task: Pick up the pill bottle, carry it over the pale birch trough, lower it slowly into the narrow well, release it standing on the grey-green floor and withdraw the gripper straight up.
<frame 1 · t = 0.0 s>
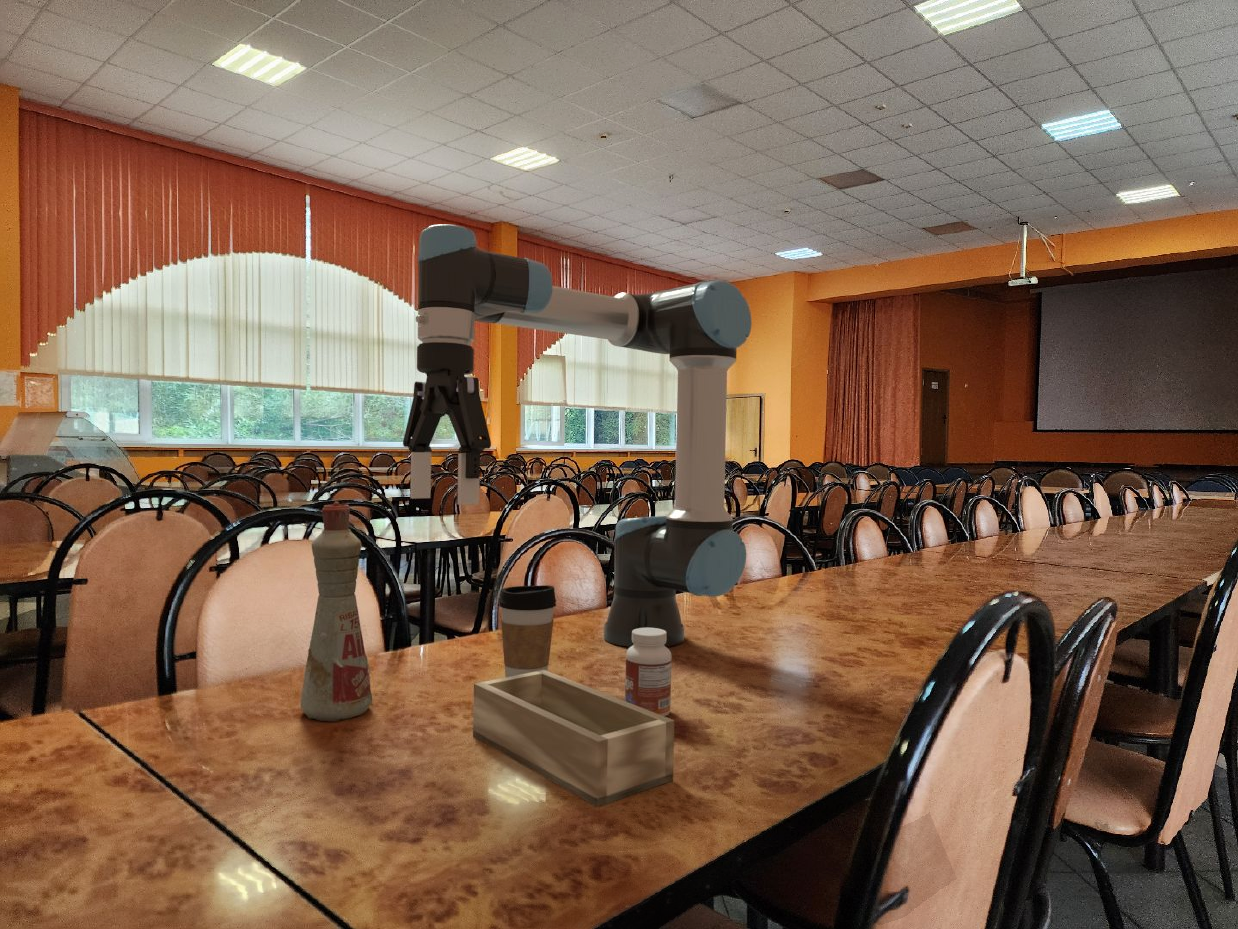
hand: (443, 501, 108), 28 cm above the table, fingers open, 13 cm apart
bottle: (336, 713, 106), on the table
well: (566, 757, 92), on the table
coffee cup: (526, 689, 118), on the table
pill bottle: (647, 714, 108), on the table
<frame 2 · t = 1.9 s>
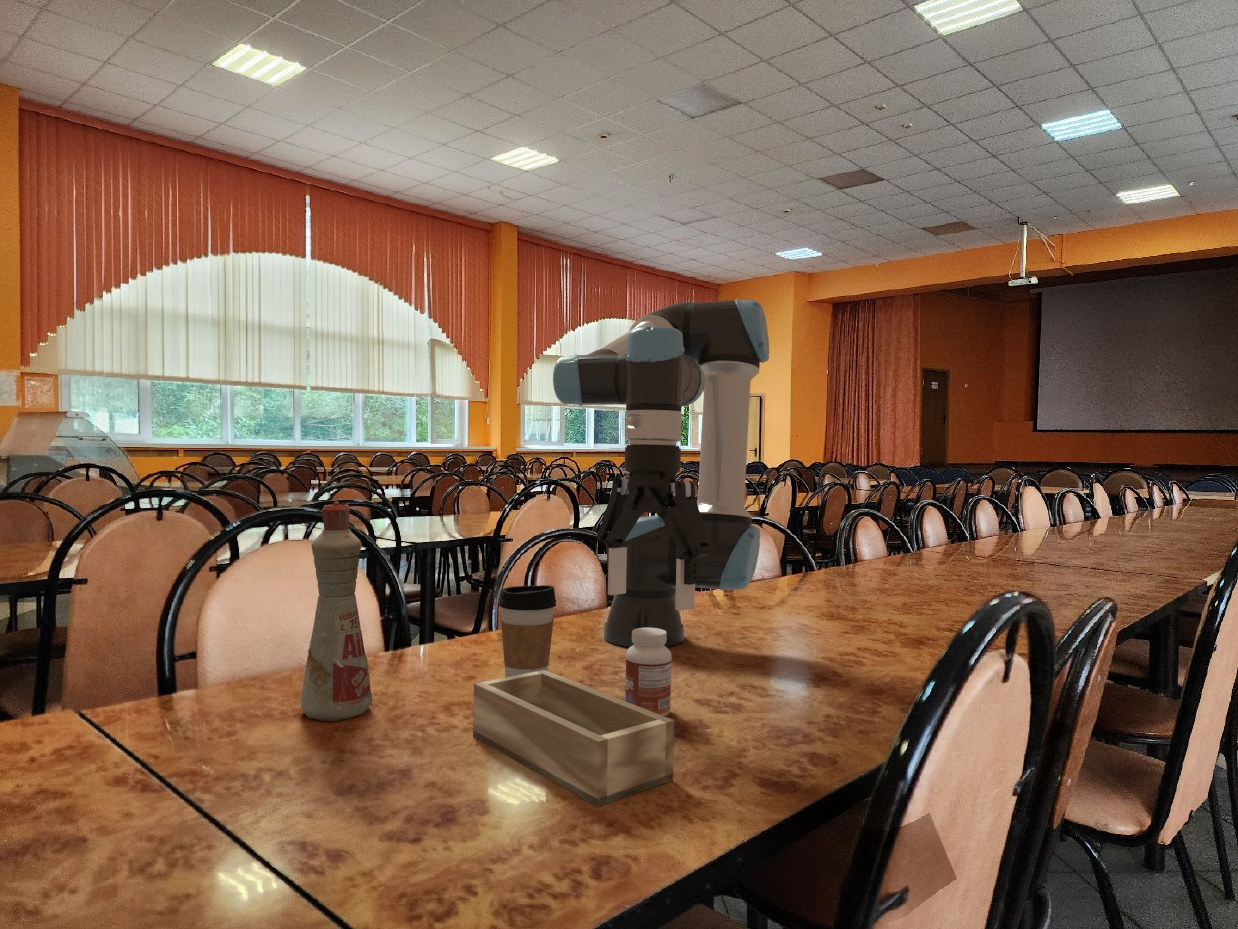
hand: (649, 601, 107), 15 cm above the table, fingers open, 13 cm apart
nothing on the table moved.
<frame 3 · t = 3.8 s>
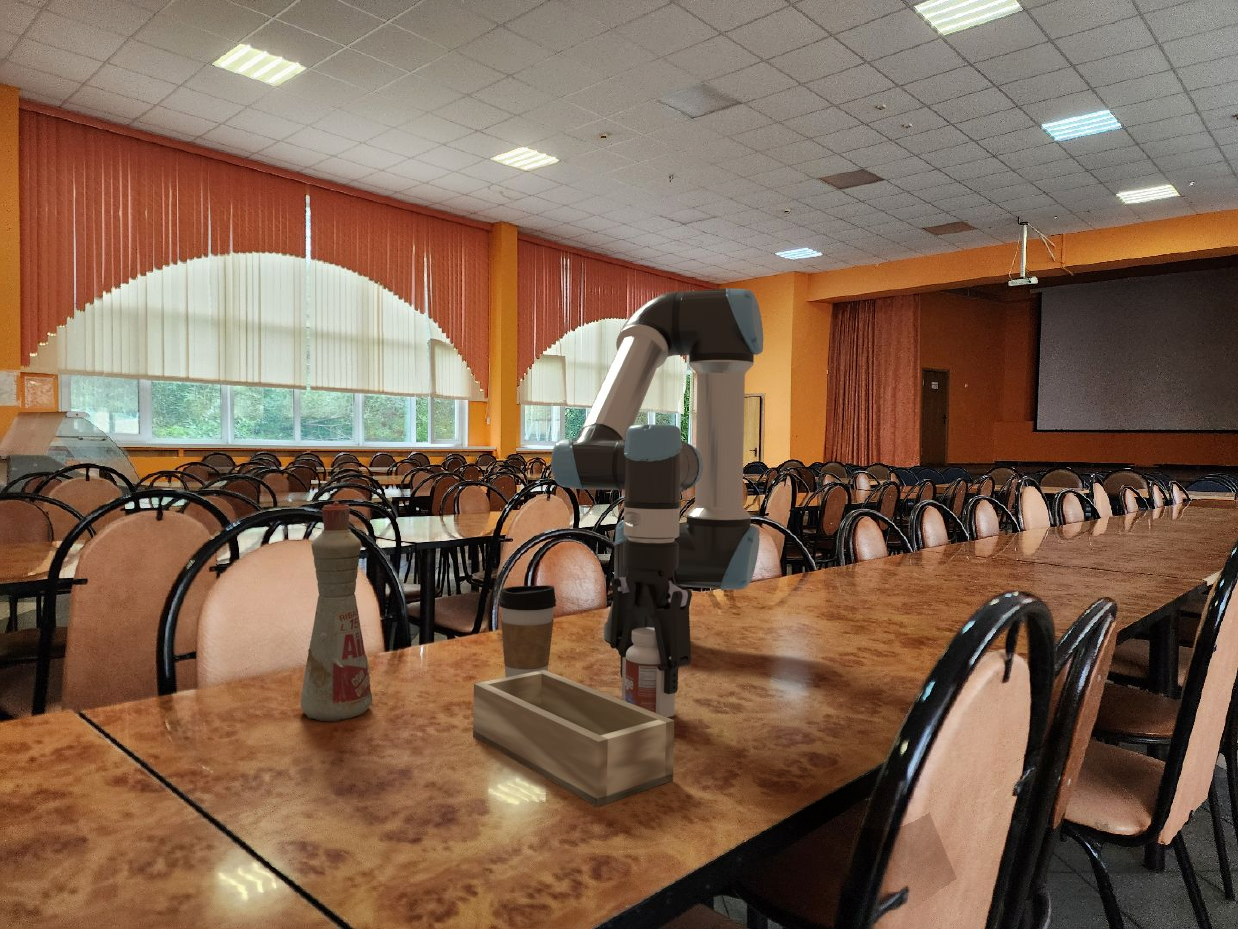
hand: (647, 709, 108), 0 cm above the table, fingers closed on pill bottle, 6 cm apart
pill bottle: (647, 714, 108), on the table, touching gripper
everything else where it was.
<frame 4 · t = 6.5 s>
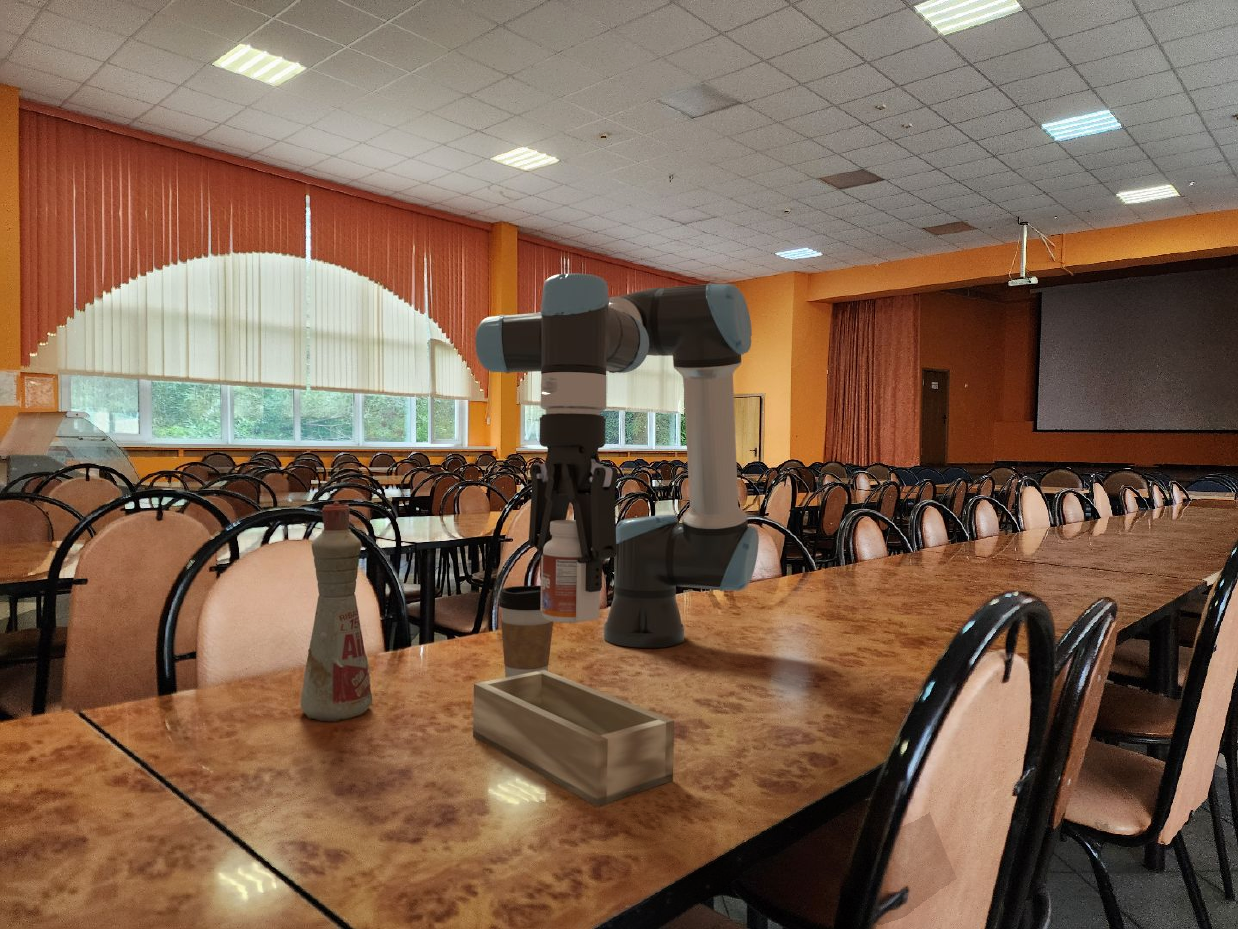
hand: (569, 614, 91), 16 cm above the table, fingers closed on pill bottle, 6 cm apart
pill bottle: (568, 620, 91), point 16 cm above the table, touching gripper
everything else where it was.
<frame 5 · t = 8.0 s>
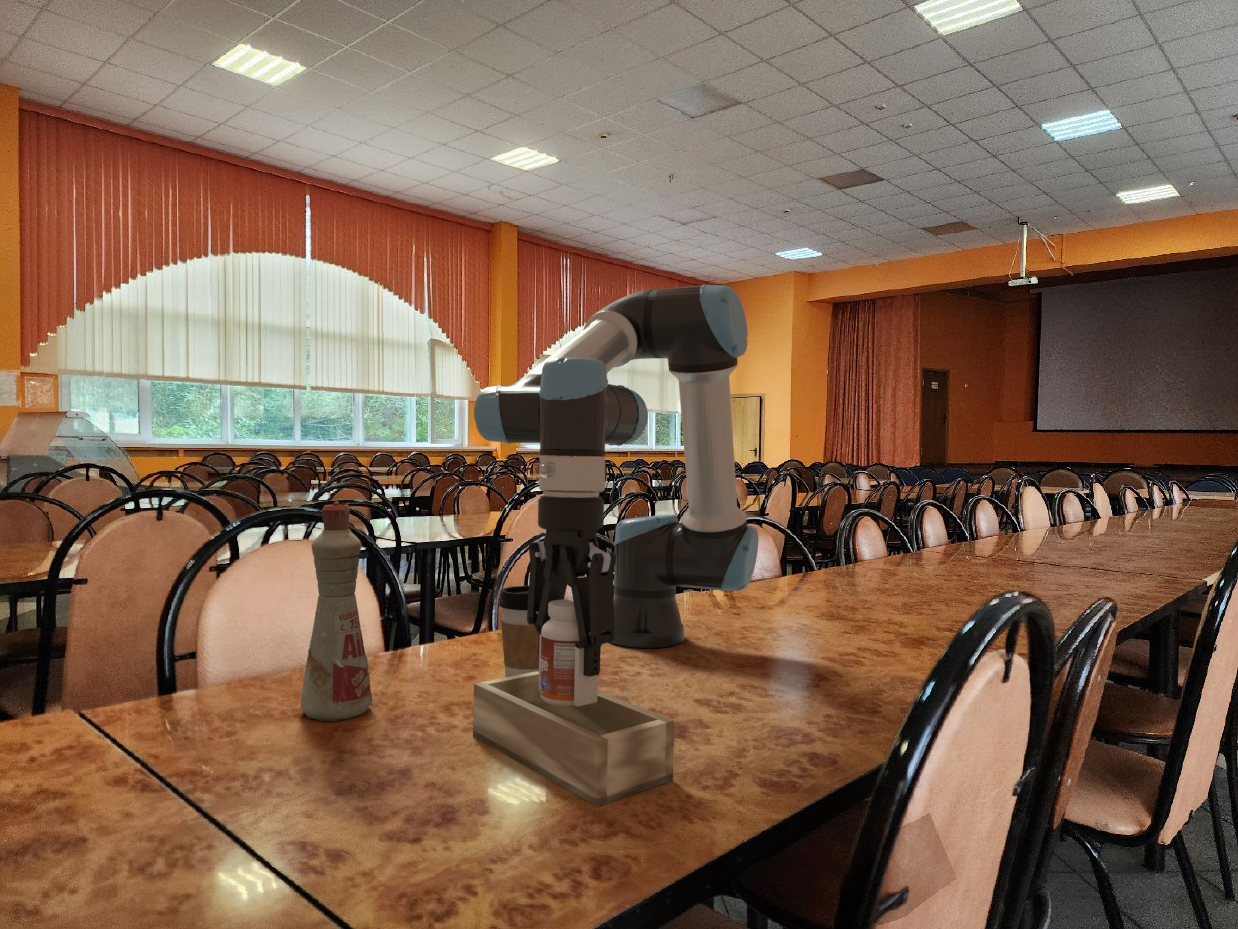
hand: (567, 695, 92), 7 cm above the table, fingers closed on pill bottle, 6 cm apart
pill bottle: (566, 701, 91), point 7 cm above the table, touching gripper
everything else where it was.
when the fingers open (3 cm above the table, at t = 9.2 s): pill bottle drops 2 cm, resting on well.
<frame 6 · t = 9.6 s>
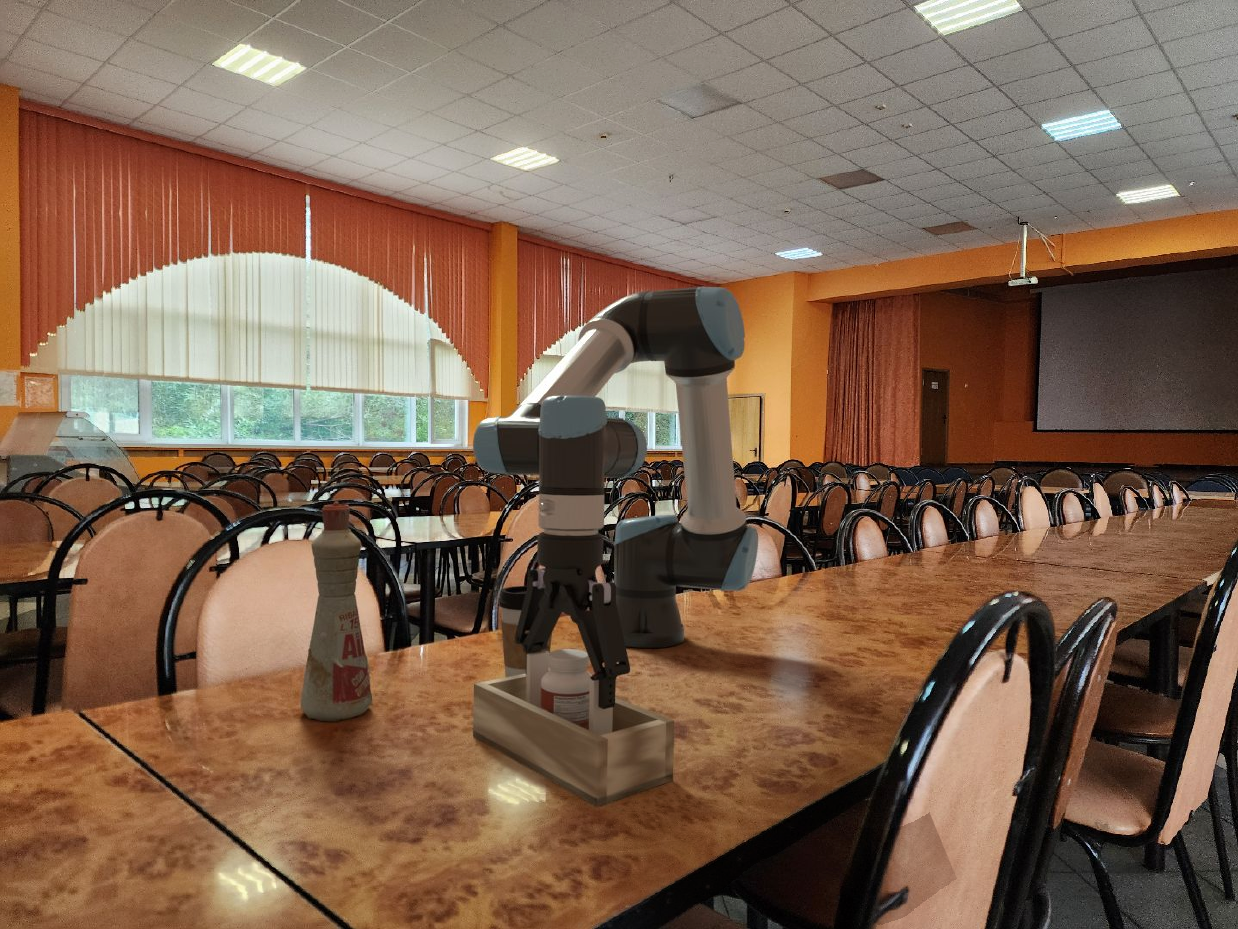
hand: (567, 720, 92), 4 cm above the table, fingers open, 11 cm apart
pill bottle: (566, 751, 92), point 1 cm above the table, touching well
everything else where it was.
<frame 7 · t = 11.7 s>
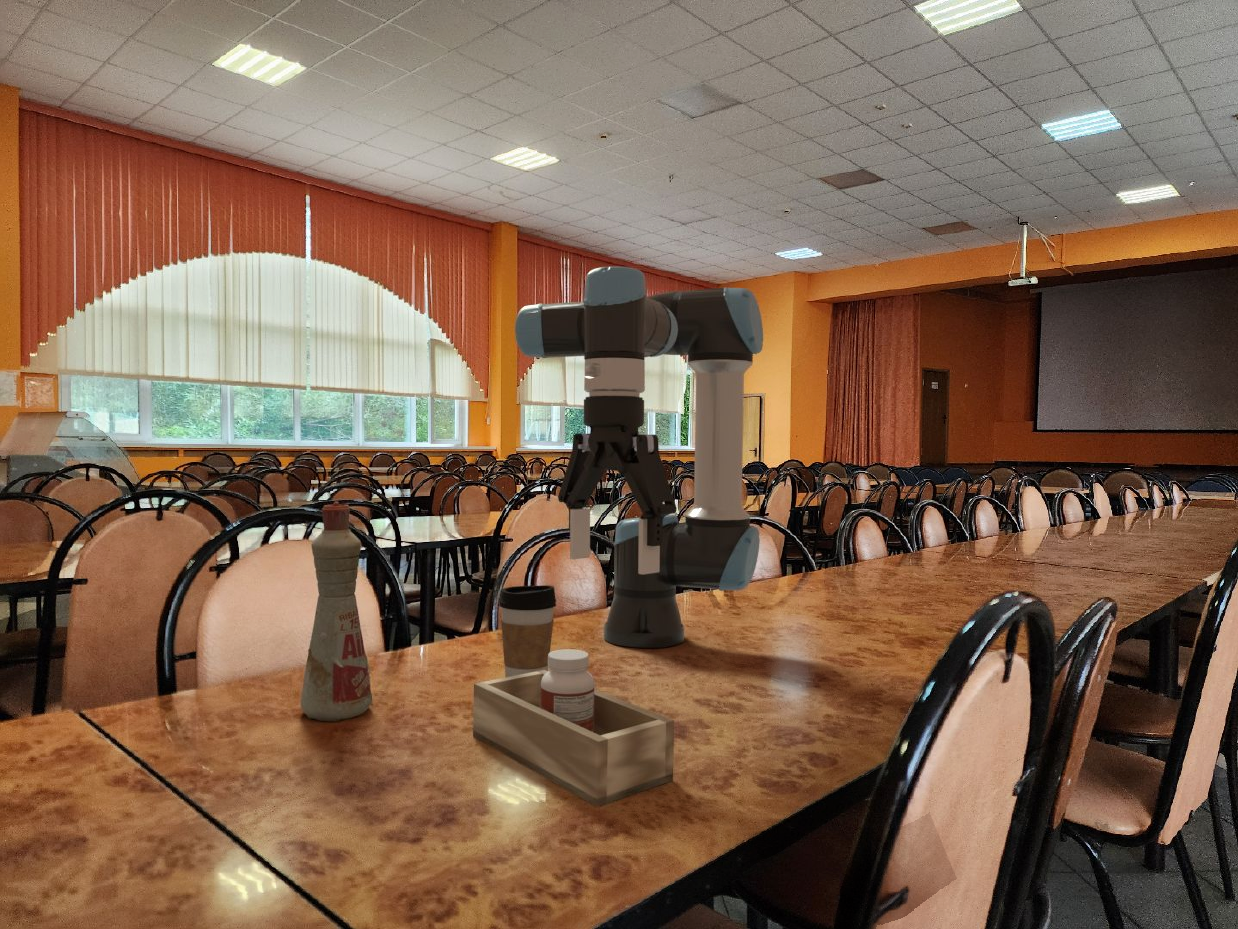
hand: (612, 565, 100), 21 cm above the table, fingers open, 13 cm apart
nothing on the table moved.
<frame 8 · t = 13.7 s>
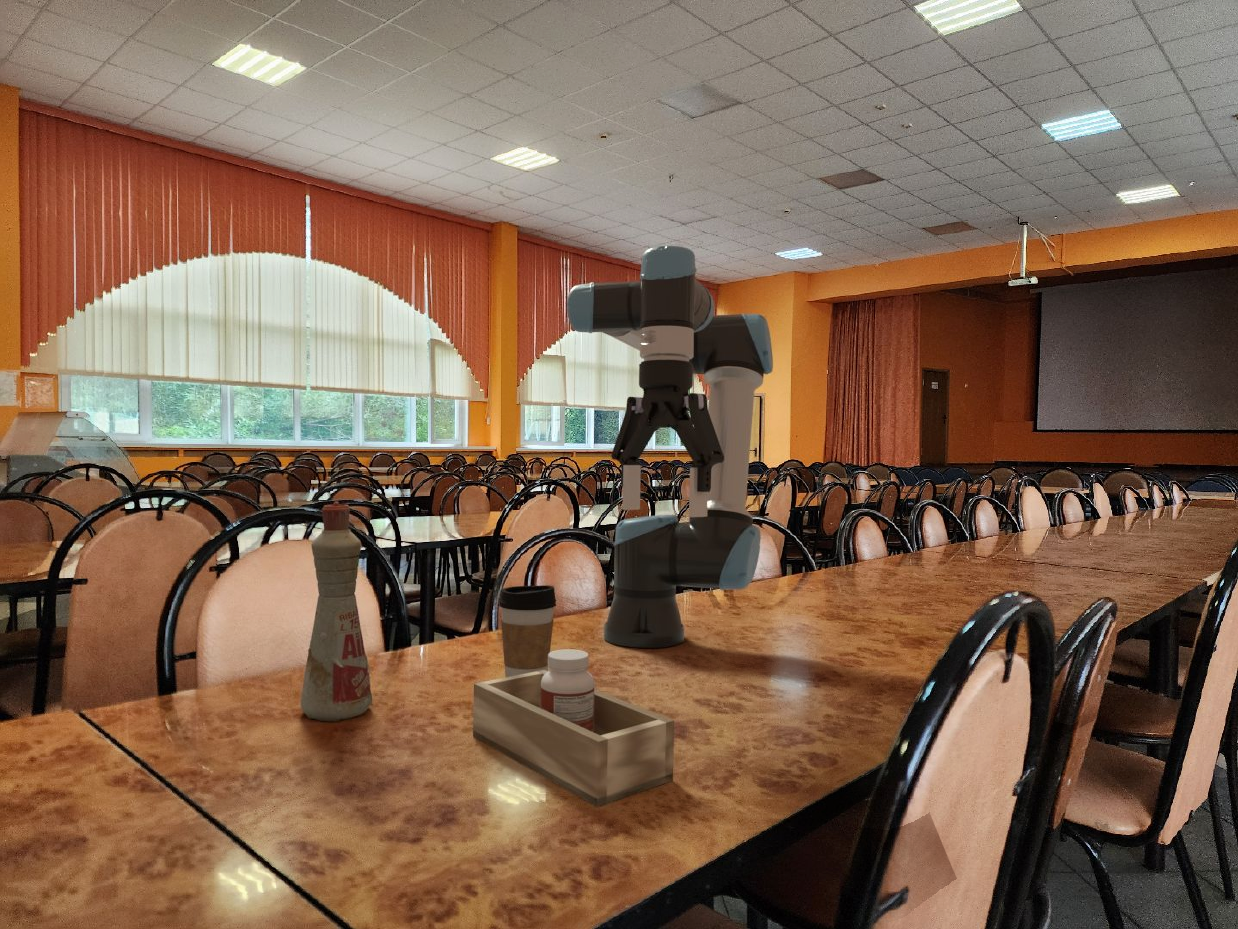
hand: (663, 513, 112), 27 cm above the table, fingers open, 13 cm apart
nothing on the table moved.
at the end: pill bottle inside the target area on the well (0.1 cm from its centre), point 0.6 cm above the well's base; pill bottle tilted 0°; the gripper is holding nothing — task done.
